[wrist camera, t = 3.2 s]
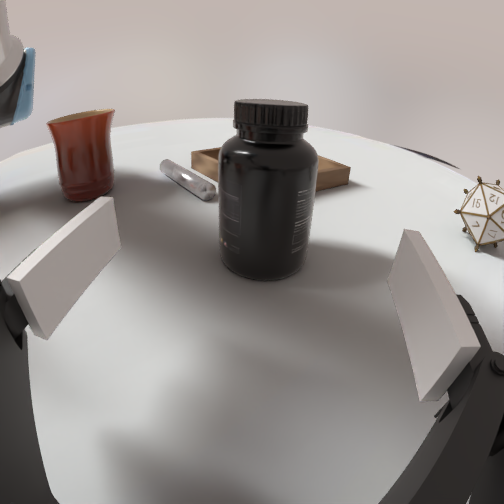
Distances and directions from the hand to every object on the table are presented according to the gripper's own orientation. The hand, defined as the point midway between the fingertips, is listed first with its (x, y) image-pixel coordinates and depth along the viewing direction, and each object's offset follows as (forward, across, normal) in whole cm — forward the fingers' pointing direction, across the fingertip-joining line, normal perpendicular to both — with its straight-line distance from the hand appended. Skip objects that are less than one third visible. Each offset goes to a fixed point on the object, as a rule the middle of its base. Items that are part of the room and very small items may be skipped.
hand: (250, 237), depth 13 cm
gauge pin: (+23, -12, -7) cm, 27 cm away
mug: (+20, -24, -7) cm, 32 cm away
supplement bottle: (+9, 0, -7) cm, 12 cm away
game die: (+18, +25, -7) cm, 32 cm away
